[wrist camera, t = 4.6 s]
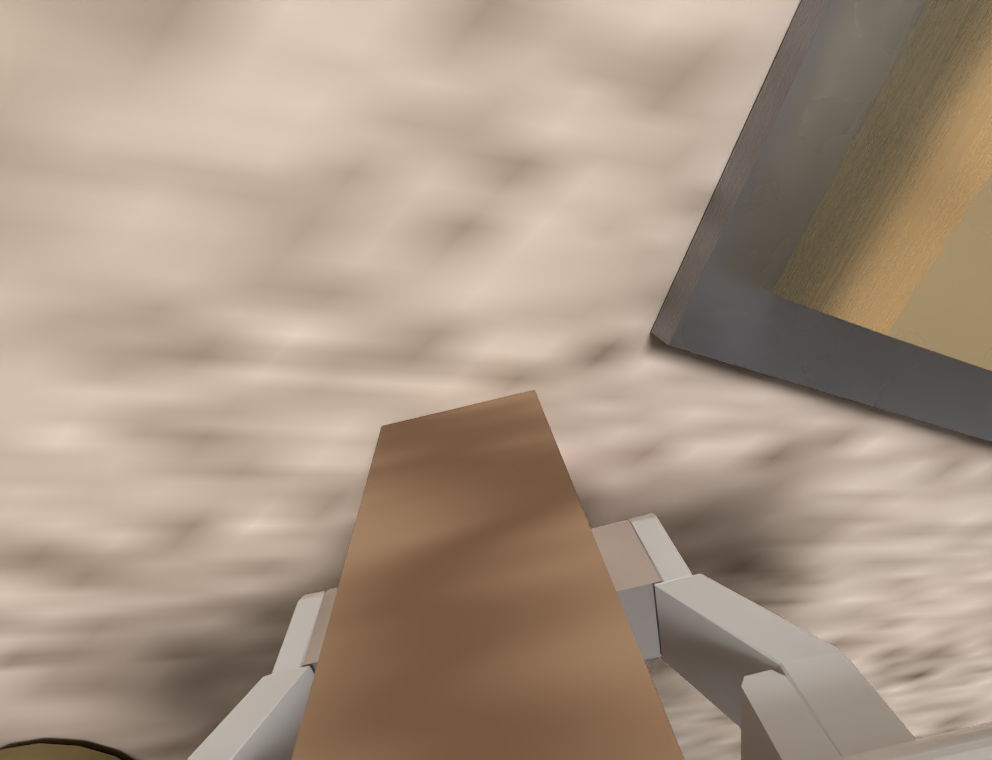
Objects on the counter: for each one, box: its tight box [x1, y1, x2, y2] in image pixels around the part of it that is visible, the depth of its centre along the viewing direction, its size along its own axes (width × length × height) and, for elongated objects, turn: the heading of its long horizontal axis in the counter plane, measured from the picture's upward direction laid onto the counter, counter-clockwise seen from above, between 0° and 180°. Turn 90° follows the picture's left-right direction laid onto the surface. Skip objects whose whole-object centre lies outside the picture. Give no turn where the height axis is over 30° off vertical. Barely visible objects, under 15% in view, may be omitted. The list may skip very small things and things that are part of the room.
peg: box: [291, 390, 684, 760], centre depth 9 cm, size 4×4×9 cm
